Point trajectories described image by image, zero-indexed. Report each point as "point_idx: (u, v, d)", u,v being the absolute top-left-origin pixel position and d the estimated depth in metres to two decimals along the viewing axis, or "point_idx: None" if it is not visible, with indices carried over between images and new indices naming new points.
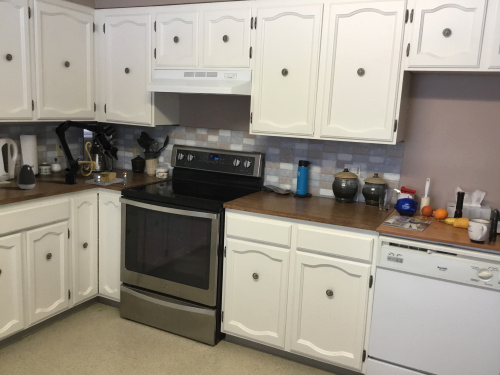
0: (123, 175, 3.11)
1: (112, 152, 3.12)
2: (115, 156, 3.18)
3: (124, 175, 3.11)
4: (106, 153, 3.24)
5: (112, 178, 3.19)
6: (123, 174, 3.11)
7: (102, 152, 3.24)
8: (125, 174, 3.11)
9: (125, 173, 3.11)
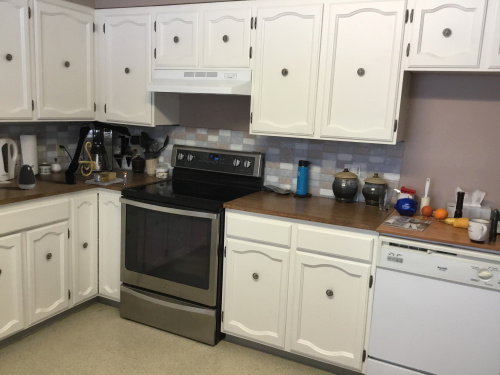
0: (123, 175, 3.11)
1: (114, 156, 3.02)
2: (119, 163, 3.05)
3: (124, 175, 3.11)
4: (127, 159, 3.15)
5: (112, 178, 3.19)
6: (123, 174, 3.11)
7: (126, 156, 3.17)
8: (125, 174, 3.11)
9: (125, 173, 3.11)
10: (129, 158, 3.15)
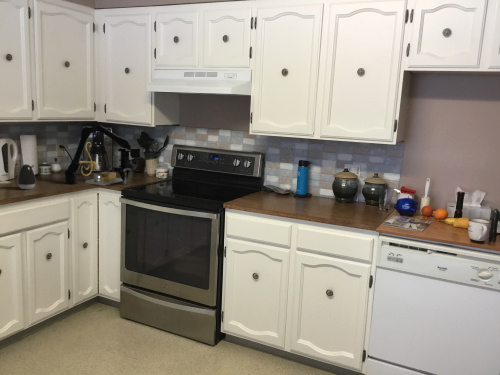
0: None
1: (114, 169, 3.03)
2: (122, 176, 3.10)
3: None
4: None
5: (112, 178, 3.19)
6: None
7: None
8: (125, 174, 3.11)
9: (125, 173, 3.11)
10: (126, 172, 3.13)
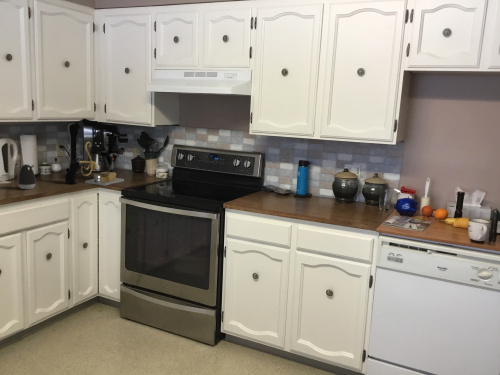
0: None
1: (101, 154, 3.07)
2: (109, 160, 3.14)
3: None
4: None
5: (112, 178, 3.19)
6: None
7: None
8: (112, 159, 3.15)
9: (112, 158, 3.15)
10: (113, 157, 3.17)
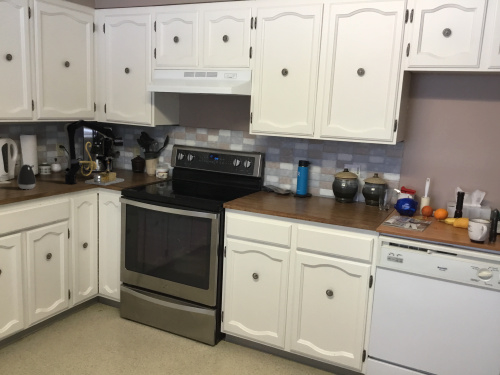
0: None
1: (96, 158, 3.10)
2: (105, 164, 3.17)
3: None
4: None
5: (112, 178, 3.19)
6: None
7: None
8: (108, 162, 3.18)
9: (108, 161, 3.17)
10: (109, 160, 3.20)
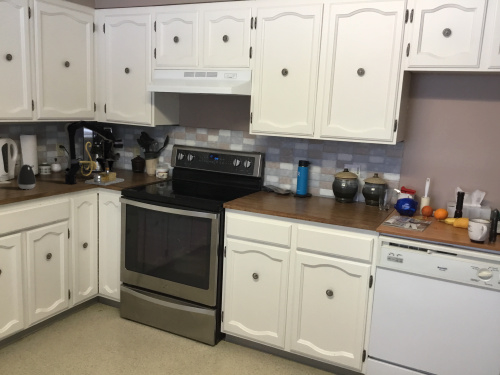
0: None
1: (96, 160, 3.10)
2: (103, 166, 3.15)
3: (106, 170, 3.18)
4: (109, 163, 3.23)
5: (112, 178, 3.19)
6: None
7: (108, 160, 3.24)
8: (107, 169, 3.18)
9: (107, 168, 3.18)
10: (111, 162, 3.22)
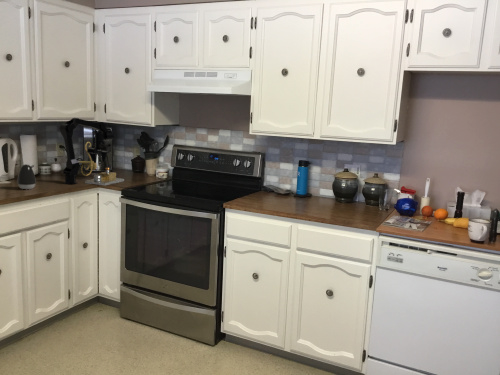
0: (106, 170, 3.19)
1: (88, 151, 3.12)
2: (93, 157, 3.16)
3: (107, 170, 3.18)
4: (102, 154, 3.26)
5: (112, 178, 3.19)
6: (106, 169, 3.19)
7: (102, 151, 3.27)
8: (108, 169, 3.18)
9: (108, 168, 3.18)
10: (104, 153, 3.25)
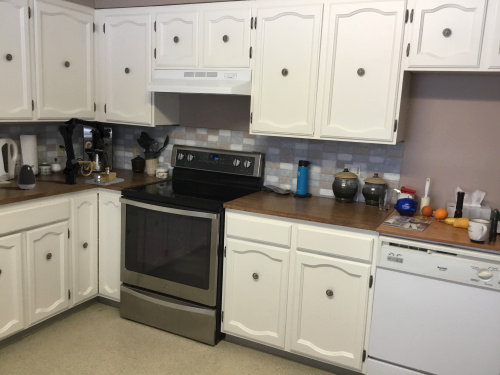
0: (106, 170, 3.19)
1: (85, 150, 3.13)
2: (90, 157, 3.17)
3: (107, 170, 3.19)
4: (99, 153, 3.27)
5: (112, 178, 3.19)
6: (106, 169, 3.19)
7: None
8: (108, 169, 3.19)
9: (108, 168, 3.18)
10: (101, 152, 3.26)
